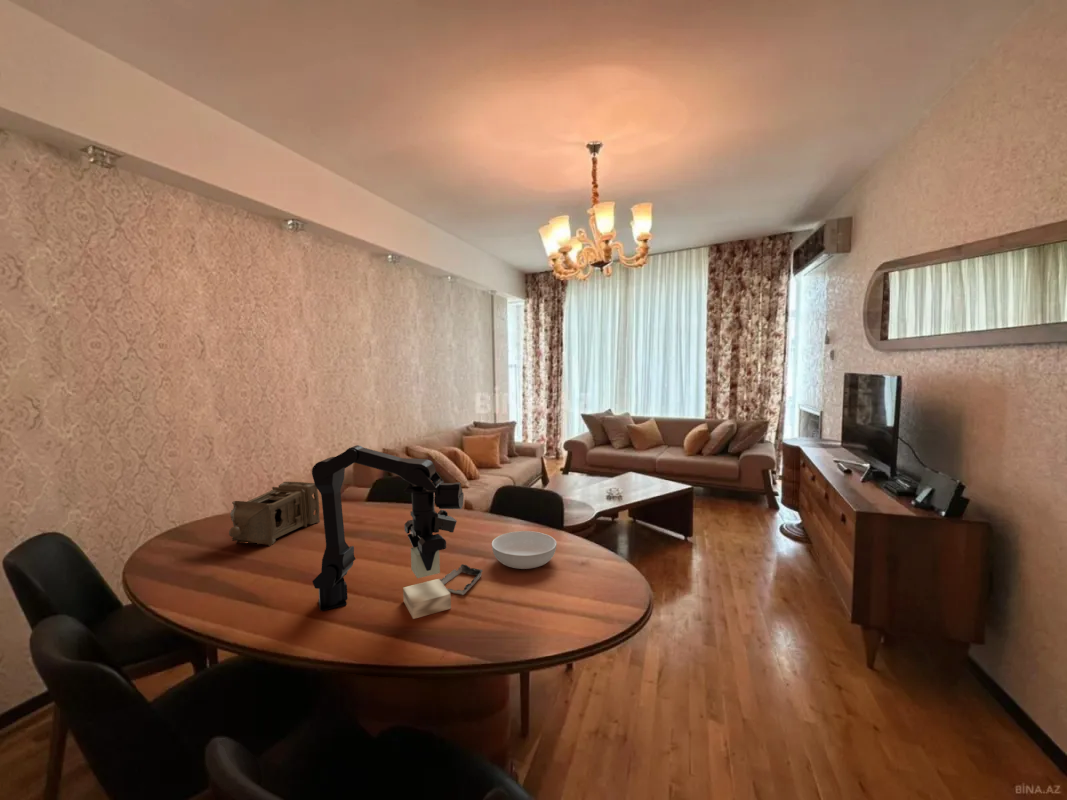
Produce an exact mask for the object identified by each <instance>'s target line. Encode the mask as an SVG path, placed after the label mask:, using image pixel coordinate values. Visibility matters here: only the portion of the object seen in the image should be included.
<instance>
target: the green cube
mask: <svg viewBox="0 0 1067 800" xmlns="http://www.w3.org/2000/svg"><path fill="white" fill-rule="evenodd" d="M418 547H419V546H418ZM440 560H441V559H440V550H438V551H436V553H435V556H434V560H433V564H432V568H431V570H429V571H427V570H426V568H425V566H424V563H423V561H422V559H421V556H420V554H419V552H418V549H417V547H413V546H412V547H410V565H411V566H410V567H411V571H412V573H413V574H414V575H415V577H416V579H421V578H426V577H429V576H433V575H438V574H440V573H441V567H440V566H441V563H440Z"/></svg>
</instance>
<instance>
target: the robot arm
mask: <svg viewBox="0 0 1067 800" xmlns="http://www.w3.org/2000/svg"><path fill="white" fill-rule="evenodd" d="M354 464H357V465H362V466H365V467H370V468H372V469H376V470H380V471H384V472H387V473H390V474H395V475H397V476H398V477H400V478H401V479H402V480H404V481H406V482H408V483H409V484H408V485H407V487H406V488H405V489H403V493H404V494H411V509H412V510H411V511H410V512H409V513H410V516H411V517H412V519H409V520H407V521H406V522H405V523H404V532H405V533H406V534H407V537H408V540H409V542H410V544H411V546H412V548H413V547H417V549H418V552H419V554H420V556H421V559H422V561H423V563H424V566H425V568H426V570H427V571H429V570H431V568H432V564H433V560H434V556H435V553H436V551H438V550H439V551H443V550H446V549H447V540H446V539H445V538H444V537H443V536H442V535H441V534H439V532H440V531H446V532H449V533H454V531H455V528H456V525H457V522H458V521H457V519H456V518H454V517H453V516H451V515H449V514H448V511H446V510H461V509H462V508H463V505H464V498H465V497H464V492H463V488H462V483H461V482H458V481H456V482H445V481H444V479H443V478H442V477H441V475H440V474H439V473H438V472H437V470H436V465H434V462H433V461H432V460H430V459H424V458H413V457H412V458H406V457H400V456H396V455H392V454H389V453H384V452H381V451H378V450H373V449H370V448H367V447H365V446H364V447H363V446H362V445H359V444H357V445H353V446H351V447H349V448H347V449H346V450H345V451H343V452H342V453H340V454H338V455H336V456H330V457H328V458H325V459H323V460H320V461H318V462H316V463H315V464H314V465H313V467H312V469H311V475H312V479H313V483H315V486H316V487H317V490H318V493H319V494H320V495H321V498H320V499H321V506H322V507H321V508H322V518H323V527H324V537H325V549H324V552H323V554H322V555H323V556H322V559H321V569H320V572H319V574H318V575H317V576H315V578H314V579H313V580H312V585H313V586H314V589H317V590H318V605H319V610H320V612H323V611H327V610H332V609H335V608H340V607H344V606H346V605H347V604H348V603H347V602H348V599H349V597H348V585H347V582H346V581H345V578H344V577H346V576H347V574H348V571H349V570H350V569H351V568H352V566H353V565H354V562H355V561H356V560H357V559H356V557H355V546H354V545H351V546H349V545H348V543H347V542H346V538H345V527H344V516H343V514H344V513H343V505H342V504H343V503H342V494H341V493H342V491H341V489H342V487H343V484H344V483H343V482H344V480H345V472H346V471H345V470H346V468H348V467H350V466H352V465H354ZM435 507H436V508H438V509H439V511H438V512H437V511H436V510H435V509H436V508H435ZM433 533H434V534H433ZM418 546H419V547H418Z"/></svg>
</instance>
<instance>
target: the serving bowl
mask: <svg viewBox="0 0 1067 800" xmlns="http://www.w3.org/2000/svg"><path fill="white" fill-rule="evenodd" d="M557 545H558V542H557V540H556V539H555V538H554V537H553V536H551V535H549V534H546V533H543V532H539V531H532V530H520V531H512V532H506V533H503V534H500V535H499V536H495V538H494V539H493V540H492V541H491V548H492V553H493V555H494V557H495V559H497V561H499V562H500V563H501V564H503V565H504V566H506V567H509V568H513V569H518V570H519V569H521V570H525V569H526V570H527V569H529V570H530V569H535V568H538V567H541V566H544V565H545V564H547V563H548V562H550V561H551V560H552V559H553V557H554V556H555V553H556V549H557Z"/></svg>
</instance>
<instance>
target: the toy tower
mask: <svg viewBox="0 0 1067 800" xmlns="http://www.w3.org/2000/svg"><path fill="white" fill-rule="evenodd" d="M271 488H272V489H271V490H269V491H267V492H265V493H263V494H260V495H259V496H257V497H255V498H252V499H249V500H247V501H244V500H242V501H241V500H234V501H232V503H231V504H233V508H232V510H231V511H230V513H229V515H230V518H231V519H230V520H231V522H232V524H233V527H231V528H230V529H229V531H228V535H229V536H230V537H232V538H231V539H232V542H235V544H238V543H237V542H248V543H257V544H256V545H259V544H266V545H265V546H268V547H272V546H273V545H274V544H275V542H277V540H276V539H278V538H280V537H282V536H284V535H286V534H289V533H290V532H293V531H295V530H297V529H299V528H301V527H303V528H307V527H308V525H313V524H317V523H320V522H321V520H320V501H319V490H318V489H317V487H316V486H315V483H314V482H304V481H283V482H282V483H281V484H279V485H278V487H275V486H272V487H271ZM272 544H273V545H272ZM271 545H272V546H271Z"/></svg>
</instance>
